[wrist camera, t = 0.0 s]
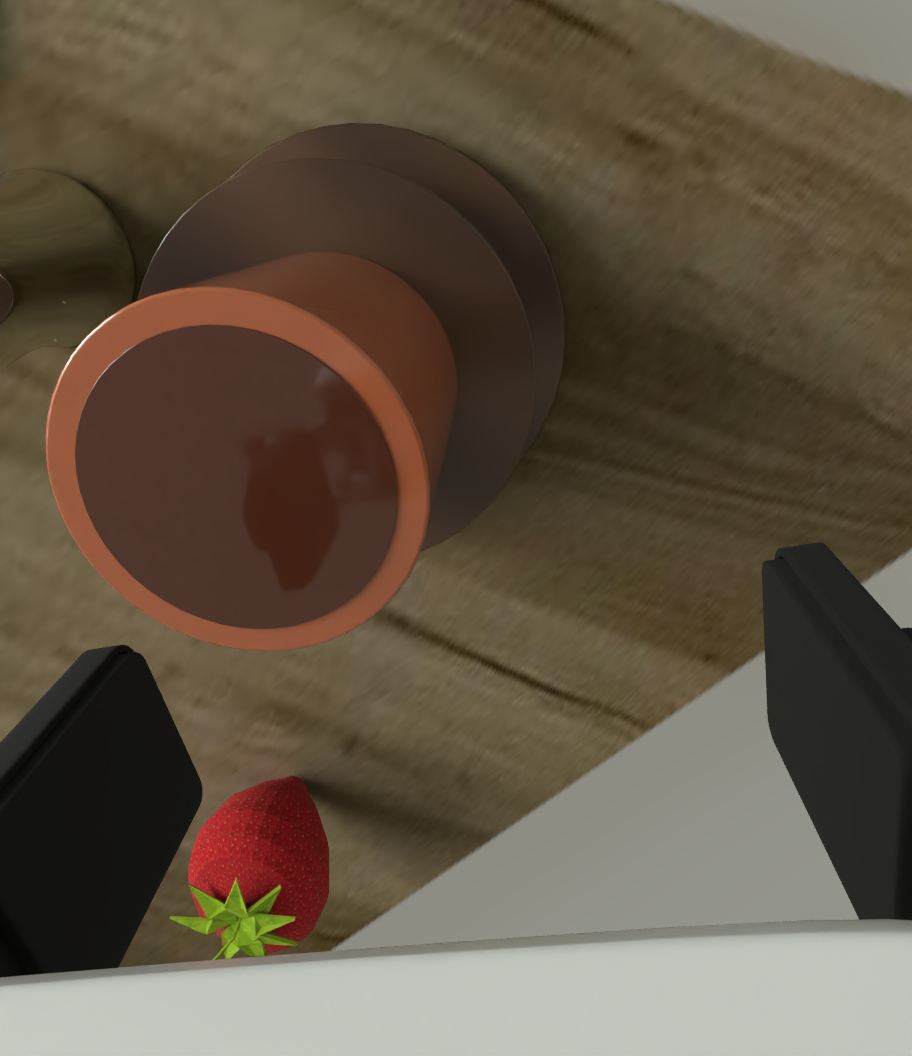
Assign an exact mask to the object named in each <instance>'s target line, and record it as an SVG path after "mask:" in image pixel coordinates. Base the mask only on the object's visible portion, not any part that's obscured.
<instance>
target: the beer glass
mask: <svg viewBox="0 0 912 1056" xmlns="http://www.w3.org/2000/svg"><path fill="white" fill-rule="evenodd" d="M134 290H135V267H134V260H133V256H132V252H131V249H130V246H129V243H128V240H127V238H126V235H125V233H124V231H123V229H122V227H121V225H120V224H119V222H118V221H117V219H116V218H115V216H114V215H113V213H112V212H111V211H110V209H109V208H108V207H107V206H106V205H105V204H104V203H103V202H102V201H101V200H100V199H99V198H98V197H97V196H96V195H95V194H94V193H93V192H91V191H90V190H89V189H88V188H86V187H85V186H83V185H82V184H80V183H79V182H77V181H75V180H73V179H71V178H69V177H67V176H65V175H62V174H59V173H57V172H53V171H49V170H45V169H36V168H25V169H16V170H11V171H6V172H3V173H0V372H1V371H3V370H4V369H5V368H7V367H8V366H10V365H11V364H12V363H14V362H15V361H16V360H18V359H19V358H21V357H22V356H24V355H26V354H27V353H29V352H31V351H33V350H36V349H40V348H60V347H76V346H79V344H80V343H81V342H82V341H83V339H84V338H85V337H86V336H87V335H88V334H89V333H90V332H91V331H92V330H93V329H94V328H96V327H97V326H98V325H99V324H100V323H101V322H102V321H104V320H105V319H106V318H107V317H109V316H111V315H112V314H114V313H115V312H117V311H119V310H120V309H122V308H123V307H125V306H127V305H129V304H131V303H132V300H133V296H134Z"/></svg>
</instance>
